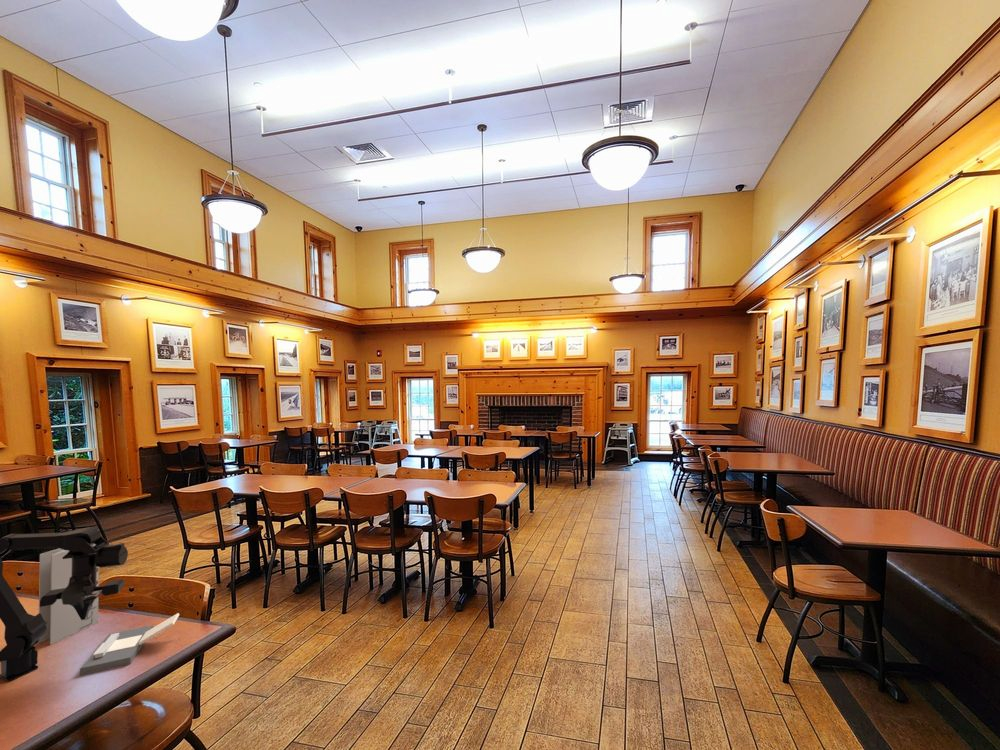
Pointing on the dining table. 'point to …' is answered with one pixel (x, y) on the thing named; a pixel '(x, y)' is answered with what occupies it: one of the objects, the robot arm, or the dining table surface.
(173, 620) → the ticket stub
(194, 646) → the dining table surface
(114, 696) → the dining table surface
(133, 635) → the board
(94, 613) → the brochure
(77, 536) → the robot arm
